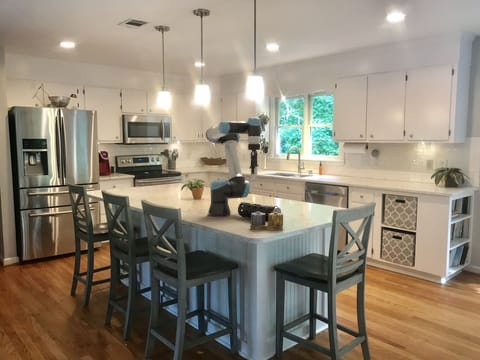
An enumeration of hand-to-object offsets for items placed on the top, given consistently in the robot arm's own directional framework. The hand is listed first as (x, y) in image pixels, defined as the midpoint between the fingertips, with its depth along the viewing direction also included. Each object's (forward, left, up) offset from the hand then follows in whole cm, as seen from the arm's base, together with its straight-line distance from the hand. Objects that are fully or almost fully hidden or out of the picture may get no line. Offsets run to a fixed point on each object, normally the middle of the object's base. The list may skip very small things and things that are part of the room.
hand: (254, 178), depth 241 cm
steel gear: (+4, -17, -25) cm, 30 cm away
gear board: (+9, -17, -27) cm, 33 cm away
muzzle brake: (+3, +4, -27) cm, 28 cm away
